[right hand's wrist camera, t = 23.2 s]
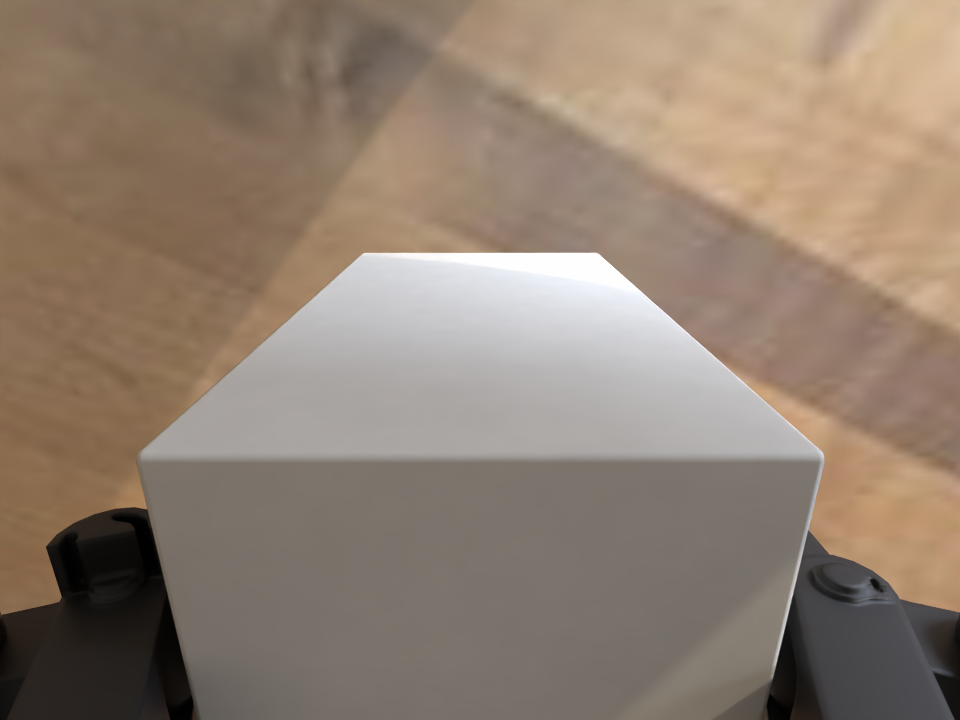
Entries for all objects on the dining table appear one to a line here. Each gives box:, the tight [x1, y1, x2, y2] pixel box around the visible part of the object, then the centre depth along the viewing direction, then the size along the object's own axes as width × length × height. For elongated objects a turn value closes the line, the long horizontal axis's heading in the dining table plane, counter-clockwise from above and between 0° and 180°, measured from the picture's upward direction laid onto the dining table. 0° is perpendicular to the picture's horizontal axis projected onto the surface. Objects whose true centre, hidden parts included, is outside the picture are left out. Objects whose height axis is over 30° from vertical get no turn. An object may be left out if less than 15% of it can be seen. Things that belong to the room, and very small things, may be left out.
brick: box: [136, 253, 824, 720], centre depth 12 cm, size 7×7×11 cm
